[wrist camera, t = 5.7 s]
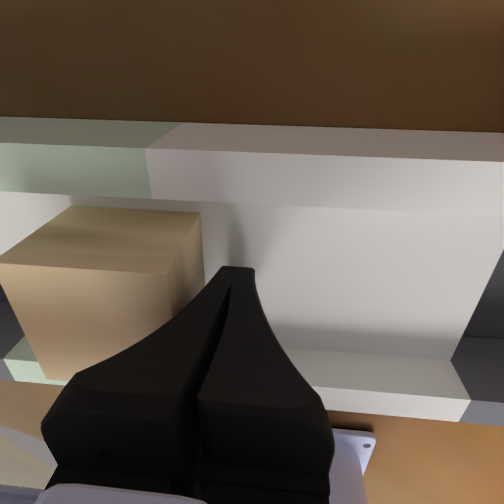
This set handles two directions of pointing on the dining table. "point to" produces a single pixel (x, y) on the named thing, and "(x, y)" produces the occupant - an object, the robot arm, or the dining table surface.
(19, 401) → the dining table surface
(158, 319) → the maple block
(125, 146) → the trap box
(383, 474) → the dining table surface
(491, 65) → the dining table surface
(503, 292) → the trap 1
